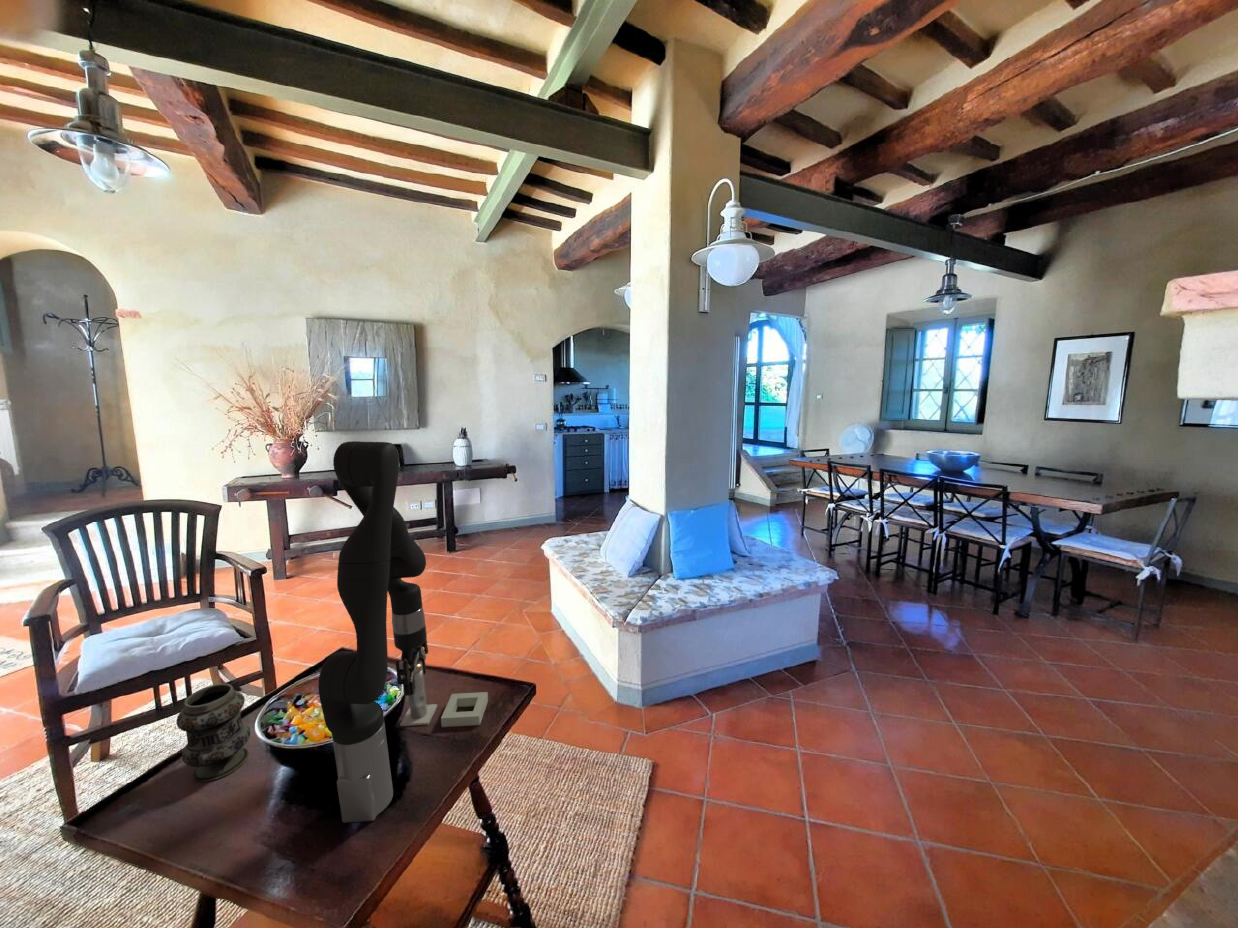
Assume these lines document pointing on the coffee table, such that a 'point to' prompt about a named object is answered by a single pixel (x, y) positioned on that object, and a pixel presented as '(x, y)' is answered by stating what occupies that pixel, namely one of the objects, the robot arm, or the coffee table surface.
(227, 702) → the apothecary jar
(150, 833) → the coffee table surface
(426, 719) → the felt pad
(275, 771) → the coffee table surface
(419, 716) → the steel pin
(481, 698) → the collar
